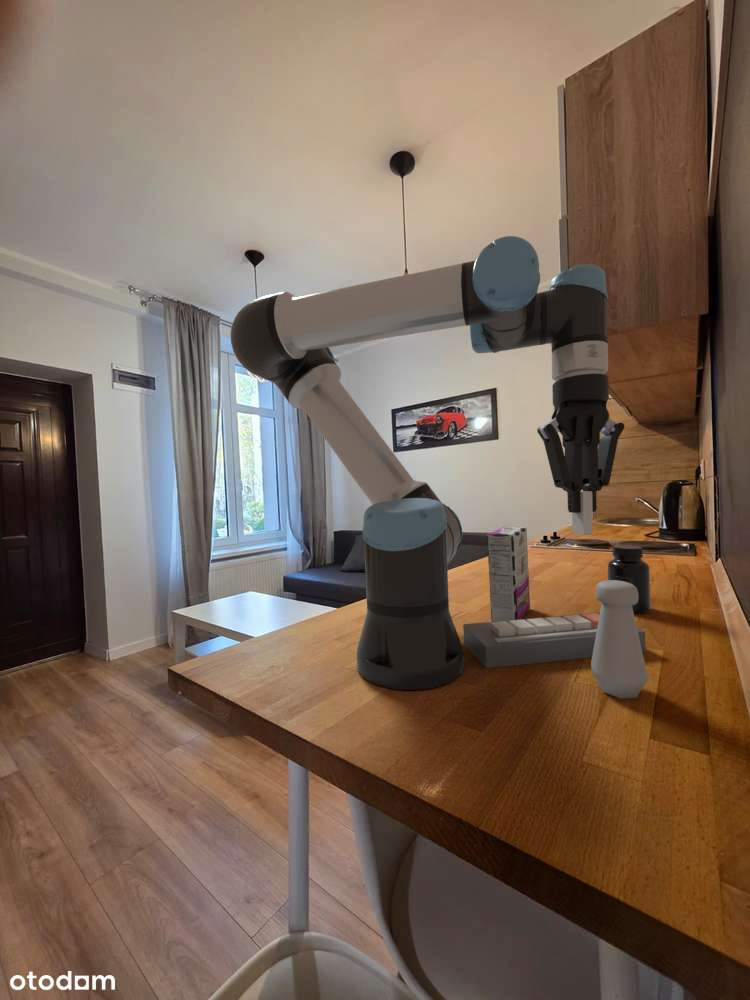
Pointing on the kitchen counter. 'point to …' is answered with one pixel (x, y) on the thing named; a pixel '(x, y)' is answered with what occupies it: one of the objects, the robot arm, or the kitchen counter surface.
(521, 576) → the candy bar box
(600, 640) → the salt shaker
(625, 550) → the supplement bottle
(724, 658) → the kitchen counter surface
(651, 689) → the kitchen counter surface
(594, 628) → the gray button panel
